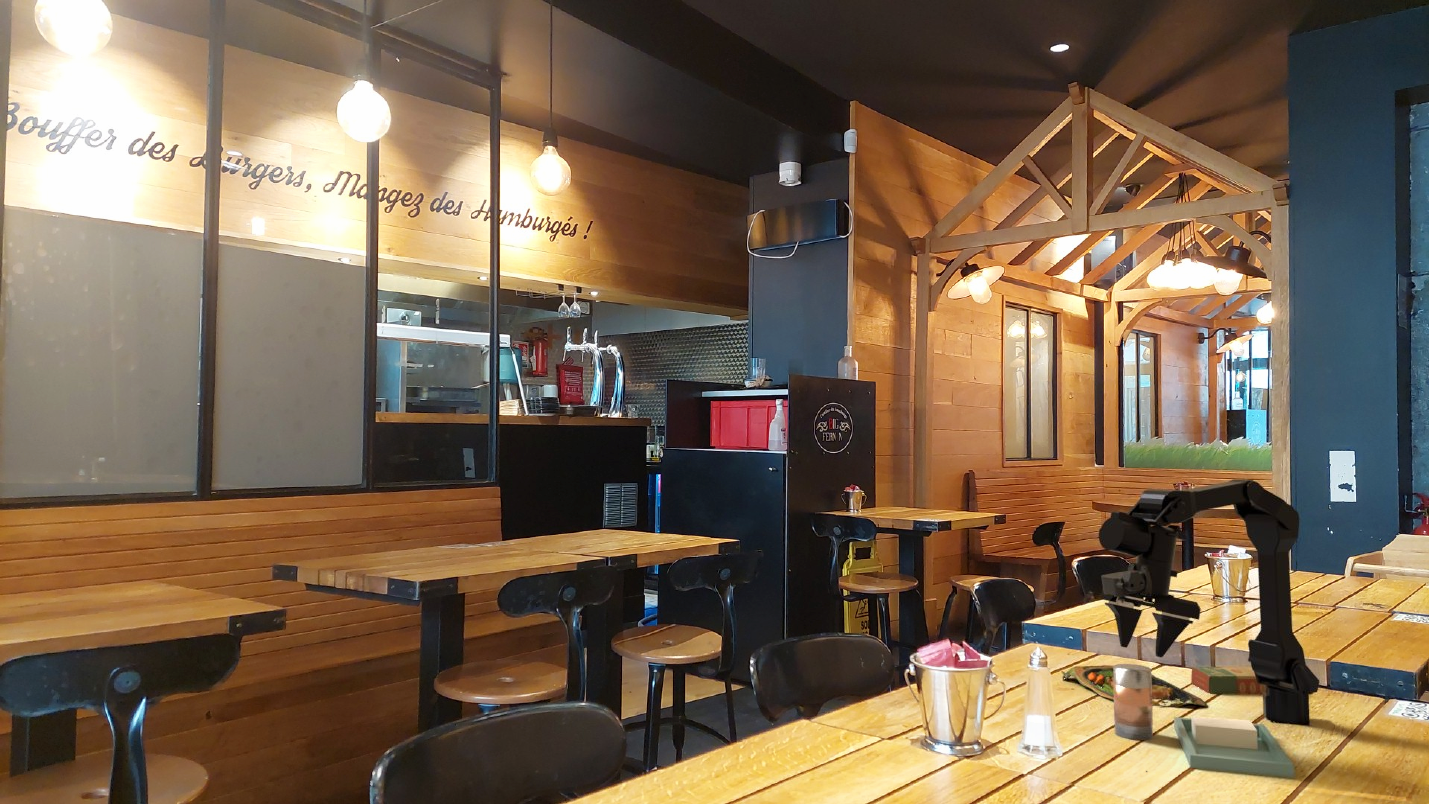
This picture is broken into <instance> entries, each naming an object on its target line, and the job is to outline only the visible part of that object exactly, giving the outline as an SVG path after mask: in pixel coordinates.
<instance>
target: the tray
mask: <svg viewBox="0 0 1429 804" xmlns="http://www.w3.org/2000/svg"><path fill="white" fill-rule="evenodd" d="M1252 724H1253V725H1254V727H1255V728H1256V730H1257V744H1258V749H1250V748H1239V747H1228V746H1217V745H1206V744H1197V743H1196V741H1195V739H1194V737H1193V735H1192V720H1191V717H1190V718H1188V717H1177V716H1174V717H1173V727H1174V728H1173V729H1174V731H1175V734H1176V736H1177V738H1178V741H1179V743H1180V746H1181V748H1182V751H1183V754H1184V755H1185V758H1186V761H1187V762H1188V764H1189V768H1190V769H1197V770H1207V771H1217V772H1218V771H1219V772H1227V773H1235V774H1246V775H1247V774H1248V775H1258V776H1265V777H1268V776H1269V777H1276V778H1277V777H1278V778H1287V779H1295V765H1294V763H1293V762H1292V760H1291V758H1289V757H1288V755H1287V754H1286V752H1285V751H1284V750H1283V748H1282V747H1281V746H1280V744H1279V742H1278V741H1277V740H1276V739H1275V737H1274V736H1273V735H1272V733H1271V731H1270V730H1269V729H1268V728H1267V727H1266V725H1265V724H1262V723H1252Z"/></svg>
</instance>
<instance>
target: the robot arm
mask: <svg viewBox="0 0 1429 804" xmlns="http://www.w3.org/2000/svg"><path fill="white" fill-rule="evenodd" d="M1227 506H1233V509H1234V513H1235V514H1236V515H1237V516H1238V517H1239V518H1240V519H1241V520H1242V521H1244V524H1245V529H1246V535H1247V538H1248V540H1250V542H1251V543H1252V545H1253V547H1254V548H1255V550H1256V552H1257V571H1258V573H1257V574H1258V597H1259V617H1260V618H1259V620H1260V631H1259V633H1258V634H1257V635H1256V637H1255V638H1254V639H1252V638H1251V639H1249V640H1248V643H1247V645H1248V651H1249V653H1248V659H1247V661H1248V662H1249V663H1250V667H1252V670H1253V671H1254V673H1255V676H1256V679H1257V683H1258V684H1264V685H1266V693H1263V694H1262V709H1263V711H1262V712H1263V716H1264V717H1265V719H1266V720H1268V721H1270V723H1272V724H1280V725H1281V724H1283V725H1292V726H1305V727H1313V724H1312V723H1311V721H1310V720H1311V719H1310V695H1314V693H1318V690H1319V686H1320V679H1318V677H1317V676H1316V675H1315V674H1314V672H1313V671H1312V670H1311V669H1310V668H1309V667H1308V665H1307V664H1306V659H1305V658H1306V657H1305V651H1304V648H1303V647H1302V645H1301V644H1300V641H1299V640H1298V638H1297V637H1296V635H1295V634H1294V632H1293V614H1292V613H1293V612H1292V596H1291V595H1292V594H1291V593H1292V592H1291V591H1292V590H1291V572H1290V570H1291V569H1290V568H1291V567H1290V552H1291V549H1293V547H1294V545H1295V543H1296V542H1297V540H1298V538H1299V530H1300V515H1299V512H1298V510H1297V509H1295V508H1294V507H1293V506H1292V505H1291V504H1288V502H1286V501H1285V499H1283V498H1281V497H1280V496H1278V495H1276V494H1274V493H1273V492H1270V491H1269V490H1267V489H1265V488H1264V486H1262V485H1261V483H1258V482H1257V481H1255V480H1254V479H1235V478H1234V479H1231V480H1228V481H1226V482H1220V483H1214V484H1209V485H1204V486H1198V487H1193V488H1188V489H1181V490H1180V489H1163V488H1162V489H1161V488H1160V489H1158V488H1157V489H1156V488H1149V489H1146V490H1144V491H1142V492H1141V496H1140V499H1138V501H1137V502H1136V503H1135V504H1134V505H1133V506H1132V507H1131V509H1129V511H1128V512H1127V513H1126V512H1122V511H1117V510H1112V511H1111V512H1110V517H1109V518H1107V519H1106V520H1105V521H1104V522H1103V524H1102V525H1101V528H1099V530H1098V541H1099V544H1100V545H1101V547H1102V548H1103V549H1105V550H1106V551H1111V552H1115V553H1119V554H1122V555H1123V554H1124V555H1128V556H1133V557H1136V561H1135V562H1130V563H1129V565H1128V567H1127V571H1118V572H1114V573H1113V572H1112V573H1108V574H1107V573H1106V574H1102V575H1101V582H1102V583H1101V584H1102V588H1101V593H1100V600H1103V601H1104V605H1105V606H1107V607H1108V608H1109V609H1110V611H1112V613H1113V615H1114V619H1115V622H1116V627H1117V628H1116V629H1117V633H1118V634H1117V635H1118V639H1119V643H1120V647H1122V648H1128V646H1129V644H1130V642H1131V641H1132V638H1133V636H1134V633H1135V630H1136V627H1137V626H1138V623H1139V621H1140V618H1141V616H1142V613H1143V610H1142V609H1138V608H1140V607H1141V606H1144V607H1149V608H1153V609H1155V611H1156V612H1151V614H1152V616H1153V618H1154V619H1155V622H1156V625H1157V626H1156V638H1155V656H1156V657H1157V658H1164V656H1165V655H1166V654H1167V652H1168V651H1169V649H1170V648H1171V647H1172V645H1173V644H1174V643H1175V641H1176V640H1177V639H1178V638H1179V636H1180V635H1181V634H1182V633H1183V632H1184V631H1185V630H1186V628H1187V627H1188V626H1189V625H1190V624H1191V625H1193V624H1194V620H1200V616H1201V611H1202V610H1201V606H1200V605H1199V604H1198V602H1197V601H1193V600H1188V599H1184V598H1180V597H1175V595H1174V594H1169V593H1170V587H1171V579H1172V578H1177V577H1178V574H1179V573H1178V571H1176V570H1173V568H1174V567H1173V566H1174V560H1175V552H1176V548H1177V547H1176V546H1177V541H1179V540H1180V541H1187V540H1188V537H1187V535H1186V534H1185V532H1184V531H1182V528H1181V526H1180V525H1178V524H1181V523H1183V522H1186V521H1188V520H1190V519H1192V518H1193V517H1195V515H1197V513H1199V512H1203V511H1209V510H1213V509H1217V508H1224V507H1227ZM1144 598H1145V599H1144ZM1105 601H1107V602H1105ZM1157 612H1161V613H1157ZM1190 619H1193V620H1190Z"/></svg>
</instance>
